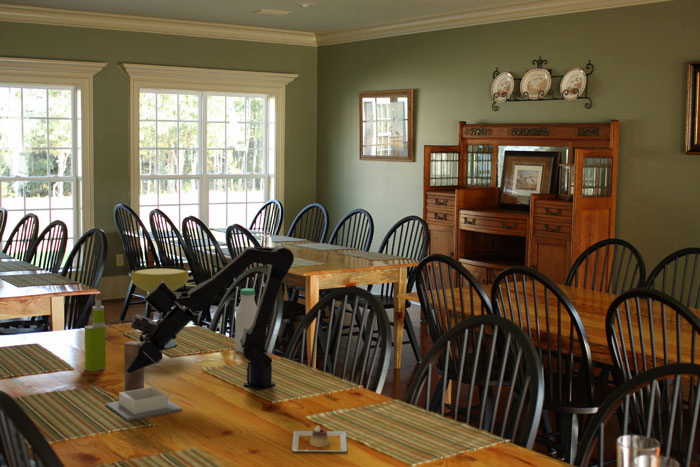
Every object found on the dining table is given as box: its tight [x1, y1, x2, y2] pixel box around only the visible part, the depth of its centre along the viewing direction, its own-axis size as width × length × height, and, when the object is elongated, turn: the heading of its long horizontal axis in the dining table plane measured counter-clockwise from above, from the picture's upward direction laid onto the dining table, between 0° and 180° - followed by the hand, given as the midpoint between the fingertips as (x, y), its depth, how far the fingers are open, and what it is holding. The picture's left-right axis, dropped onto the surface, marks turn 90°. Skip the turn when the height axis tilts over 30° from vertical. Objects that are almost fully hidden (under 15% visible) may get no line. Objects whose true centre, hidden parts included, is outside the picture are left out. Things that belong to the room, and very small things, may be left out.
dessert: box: [291, 424, 348, 453], centre depth 179 cm, size 12×12×5 cm
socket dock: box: [105, 386, 183, 422], centre depth 200 cm, size 14×14×4 cm
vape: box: [84, 299, 107, 372], centre depth 233 cm, size 4×6×20 cm, turn 134°
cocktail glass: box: [130, 265, 190, 349], centre depth 261 cm, size 18×18×25 cm
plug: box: [123, 340, 145, 392], centre depth 213 cm, size 5×5×13 cm
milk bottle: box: [234, 288, 258, 353], centre depth 258 cm, size 8×8×20 cm
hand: (128, 366), depth 212 cm, fingers open, 9 cm apart
